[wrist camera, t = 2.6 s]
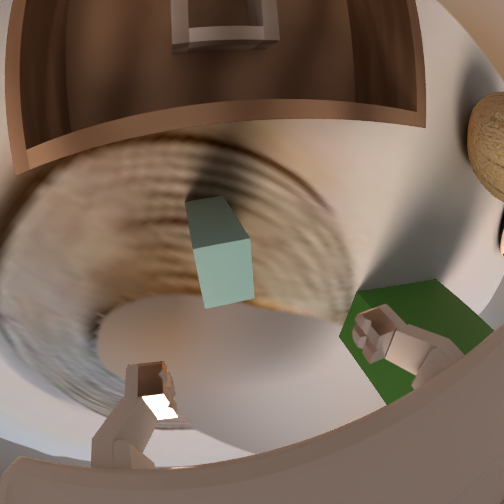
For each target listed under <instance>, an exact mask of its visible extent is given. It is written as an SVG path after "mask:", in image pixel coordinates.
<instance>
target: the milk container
mask: <svg viewBox="0 0 504 504" xmlns="http://www.w3.org/2000/svg"><path fill="white" fill-rule="evenodd" d="M499 248H500V253H501V254H502V256H503V257H504V220H503V225H502V229H501V233H500V240H499Z"/></svg>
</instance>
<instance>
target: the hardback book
mask: <svg viewBox="0 0 504 504" xmlns="http://www.w3.org/2000/svg"><path fill="white" fill-rule="evenodd" d="M384 304H386V305H388V306H389V307H390V308H391V309H392V310H393V311H394V312H395V313H396V314H397V315H398V316H399V317H400V318H401V319H402V320H403V321H404V323H405V324H406V325H408V324H410V325H413V326H416V327H418V328H421V329H424V330H427V331H429V332H432V333H435V334H438V335H440V336H443V337H446V338H449V339H450V340H451V341H452V342H453V343H454V344H455V345H456V346H457V347H458V348H459V349H460V351H461V352H462V353H463V354H464V355H466V354H467V353H468V352H470V351H471V350H472V349H473V348H475V347H476V346H477V345H478V344H480V343H481V342H482V341H483V340H484V339H485V338H487V337H488V336H489V335H490V334H491V333H492V332H493V331H494V330H493V329H492V328H491V327H490V326H489V325H488V324H487V323H485V322H484V321H483V320H482V319H481V318H480V317H479V316H478V315H477V314H476V313H475V312H474V311H472V310H471V309H470V308H469V307H468V306H467V305H466V304H465V303H463V302H462V301H461V300H460V299H459V298H458V297H457V296H455V295H454V294H453V293H452V292H451V291H449V290H448V289H447V288H446V287H445V286H444V285H442V284H441V283H440V282H439V281H437V280H436V279H434V280H429V281H423V282H417V283H411V284H405V285H399V286H393V287H386V288H380V289H373V290H366V291H359V292H356V294H355V297H354V300H353V302H352V305H351V308H350V310H349V313H348V315H347V318H346V320H345V323H344V325H343V328H342V330H341V332H340V335H339V337H340V339H341V340H342V342H343V343H344V344H345V346H346V347H347V349H348V350H349V351H350V353H351V354H352V356H353V357H354V359H355V360H356V361H357V363H358V364H359V366H360V367H361V368H362V370H363V371H364V373H365V374H366V376H367V377H368V378H369V380H370V381H371V383H372V384H373V385H374V387H375V388H376V390H377V391H378V393H379V394H380V396H381V397H382V398H383V400H384V402H385V403H386V404H387V405H388V404H390V403H392V402H394V401H396V400H397V399H399V398H401V397H403V396H405V395H406V394H408V393H410V392H411V391H413V390H414V389H413V387H412V386H411V385H412V382H413V380H414V379H415V377H416V375H414V374H412V373H410V372H408V371H406V370H405V369H403V368H401V367H399V366H397V365H396V364H394V363H392V362H390V361H388V360H386V359H385V358H383V359H381V360H378V361H376V362H373V363H371V364H370V363H369V362H368V361H367V359H366V358H365V357H364V355H363V349H361V348H359V347H357V345H356V344H355V342H354V340H353V335H352V331H353V327H354V326H355V325H356V324H357V322H356V321H355V318H356V315H357V314H358V313H361V312H364V311H367V310H369V309H372V308H376V307H378V306H381V305H384Z"/></svg>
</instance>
